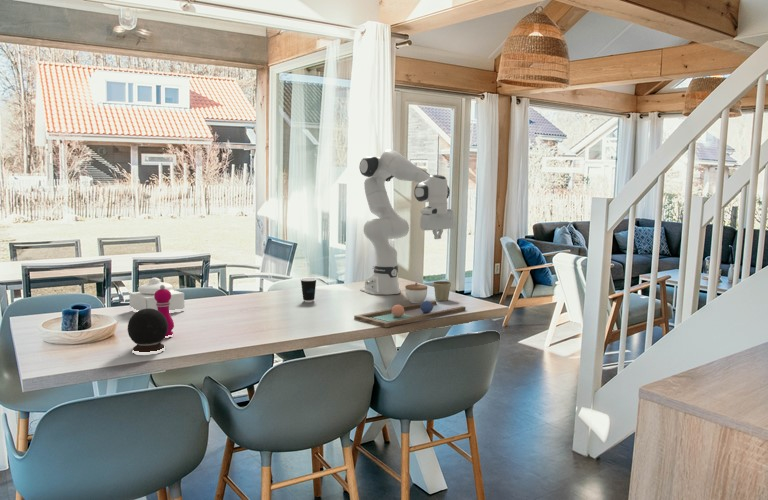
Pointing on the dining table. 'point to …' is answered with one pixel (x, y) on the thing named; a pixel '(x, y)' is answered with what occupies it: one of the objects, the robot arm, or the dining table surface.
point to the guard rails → (367, 318)
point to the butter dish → (147, 293)
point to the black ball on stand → (147, 330)
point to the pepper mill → (164, 306)
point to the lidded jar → (416, 293)
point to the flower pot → (442, 290)
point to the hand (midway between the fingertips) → (437, 239)
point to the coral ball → (398, 311)
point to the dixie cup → (308, 289)
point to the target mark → (390, 317)
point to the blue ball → (426, 306)
